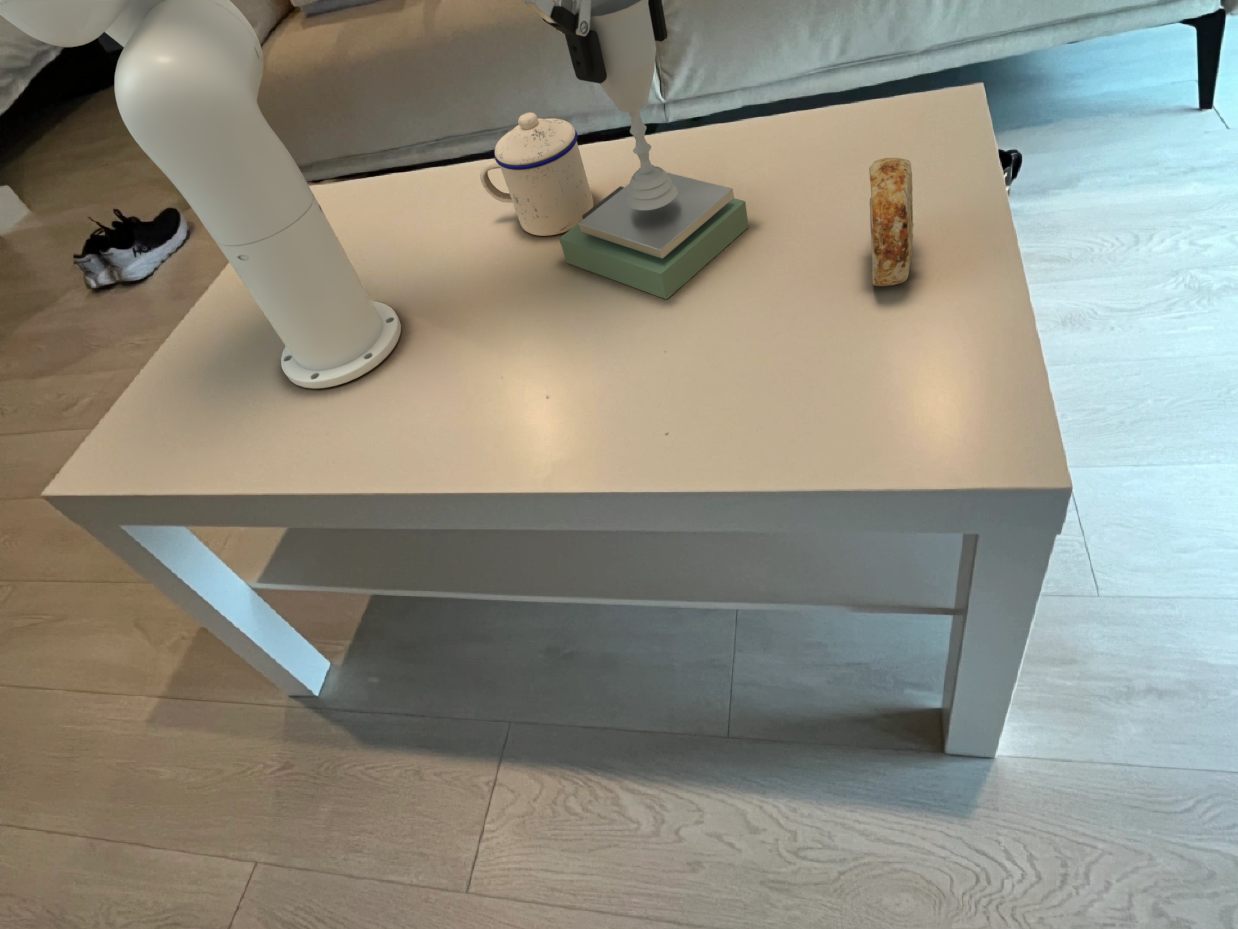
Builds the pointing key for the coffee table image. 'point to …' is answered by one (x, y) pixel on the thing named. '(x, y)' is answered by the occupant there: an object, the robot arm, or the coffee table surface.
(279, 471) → the coffee table surface
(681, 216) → the pan
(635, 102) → the chalice
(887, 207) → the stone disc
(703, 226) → the scale
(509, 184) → the teacup with lid
